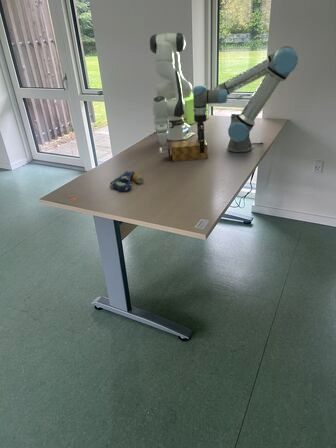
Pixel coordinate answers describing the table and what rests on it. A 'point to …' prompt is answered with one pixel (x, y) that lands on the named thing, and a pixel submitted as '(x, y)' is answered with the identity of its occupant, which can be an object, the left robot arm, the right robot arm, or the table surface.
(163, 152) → the drawer
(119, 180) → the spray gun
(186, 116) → the lime green box
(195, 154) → the wicker basket box
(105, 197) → the table surface
